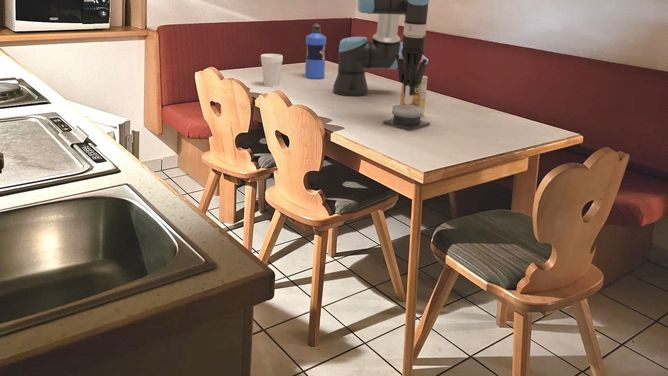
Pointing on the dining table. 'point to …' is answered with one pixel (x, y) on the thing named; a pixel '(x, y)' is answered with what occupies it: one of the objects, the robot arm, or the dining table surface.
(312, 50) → the water bottle
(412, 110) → the cap
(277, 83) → the foam cup
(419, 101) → the candy box
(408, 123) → the square dish mold
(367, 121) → the dining table surface
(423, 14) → the robot arm
